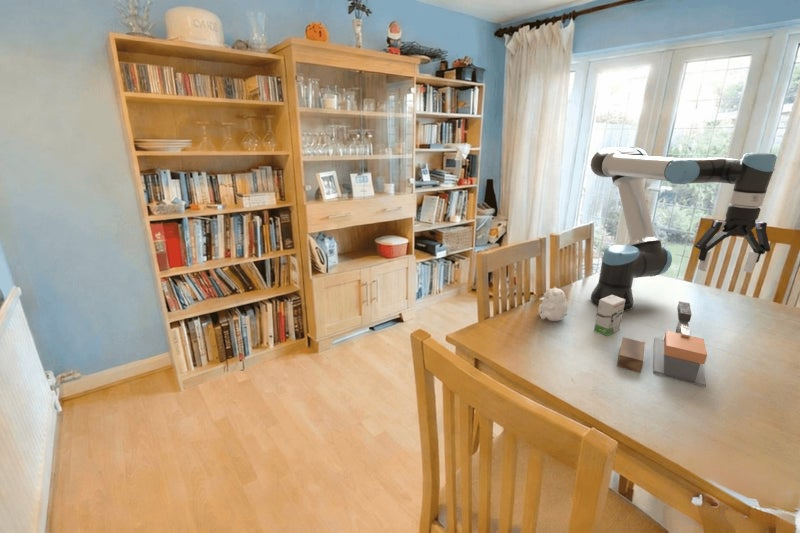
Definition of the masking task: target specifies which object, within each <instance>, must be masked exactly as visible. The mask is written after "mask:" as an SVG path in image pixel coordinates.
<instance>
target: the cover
mask: <svg viewBox="0 0 800 533" xmlns="http://www.w3.org/2000/svg"><path fill="white" fill-rule="evenodd" d="M675 332H676V331H674V332H673V331H670V330H665V333H664V337H663V340H664V355H667V356H671V357H675V358H680V359H684V360H688V361H692V362H696V363H700V364H703V365H705V363H706V360H707V357H708V353H707V352H708V351H707V347H706V342H705V338H702V337H696V336H692V335H690V337H689V338H688V337H683V336H681V334H680V333H675Z"/></svg>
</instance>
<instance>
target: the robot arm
mask: <svg viewBox="0 0 800 533" xmlns="http://www.w3.org/2000/svg"><path fill="white" fill-rule="evenodd" d="M777 159H778V156H777V155H776V154H775V153H768V152H766V153H763V152H761V153H760V152H747V153H745V154H743V156H742V158H725V157H718V156H716V157H714V156H713V157H705V158H682V157H681V158H680V157H679V158H677V157H664V156H649V155H648V153H647V152H646V151H645V150H644V149H642V148H639V147H632V146H629V147H607V148H606V147H605V148H602V149H601V150H598V151H597V152H596V153H595V154H594V155H593V156H592V158H591V161H590V169H591V170H592V173H594V175H596V176H598V177H602V178H611V180H612V183H613V185H614V186H616V187H618V192H619V197H620V201H621V207H622V209H623V210H622V211H623V215H624V219H625V224H626V229H627V232H628V233H627V234H628V238H629V243H628V244H615V245H610V246H608V247H607V248H605V249H604V251H603V255H602V258H601V259H602V260H601V265H600V270H599V271H600V273H599V277H598V283H597V284H596V286H595V287H594V289H593V291H592V293H591V295H590V302H592V304H594V305H596V306H597V307H598V305H599V300H600V299H602V298H605V297H607V296H610V295H615V296H617V297H620V298H623V299H625V305H624V310H623V312H624V311H629V310H631V309H633V307H634V302H635V301H634V296H633V295H634V294H633V290H632V289H633V288H632V286H633V282H634V279H636V278H645V277H655V276H660V275H663V274H665V273H667V272H668V270H669V269H670V268H671V265H672V261H673V257H672V253H671V251H670V250H669V249H668V248H667V247H665V246H663V245H662V241H661V239H660V238H658V237H656V236H655V231H654V227H653V222H652V219H651V214H650V210H649V205H648V202H647V198H646V192H645V188H644V184H643V179H647V180H648V179H649V180H655V181H656V180H657V181H663V182H664V181H665V182H669V183H671V184H676V185H687V184H688V185H689V184H707V183H708V184H710V183H711V184H712V183H720V184H721V183H722V184H729V185H730V184H731V185H734V186H733V190H732V193H731V196H730V199H729V205H728V207H727V209H726V214H725V220H724V221H720V220H717V219H714V220H713V221H712V223H711V225H710V227H709V228H708V229H707V230H706V231H705V233H704V234H703V235H702V236H701V237H700V238H699V240H698V241H697V242H696V243H695V245H694V248H696V249H699V255H698V261H699V264H698V267H697V269H699V270H701V271H702V272H707V268H708V265H709V264H708V263H709V261H710V257H711V253H712V252H711V251H710V250H711V249H714V247H716V246H717V245H719V244H720V243H721V242H723V241H724V240H725V239H726V238H729V237H730V236H732V237H738V236H740V237H744V238H745V240H746V242H747V243H748V245H749V246H750V249H752V250H753V251H752V250H750V251H749V252H748V255H747V258H746V261H745V264H744V267H743V271H744V272H747V273H748V274H753V272H754V269H755V267H756V263H757V264H758V263H759V261H760V258H761V256H762V255H764V254H765V253H769V252H770V251H771V247H770V242H769V241H770V240H769V237H768V233H767V226H768V223H767V222H764V221H761V220H758V219H759V216H760V214H761V213H760V212H761V210H762V209H761V207H762V206H763V203H764V201H765V198H766V194H767V190H768V188H769V185H770V182H771V179H772V176H773V174H774V172H775V166H776V164H777ZM757 220H758V221H757ZM754 228H755V234H756V237H755V234H754V232H753V229H754ZM756 238H757V239H756Z"/></svg>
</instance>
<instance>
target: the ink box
mask: <svg viewBox="0 0 800 533" xmlns="http://www.w3.org/2000/svg"><path fill="white" fill-rule="evenodd" d="M624 305H625V299H623V298H620V297H617V296H615V295H610V296H607V297H605V298H602V299H600V300H599V305H598V306H597V312H596V316H595V317H596V318H595V324H594V329H593V331H594V332H596V333H599V334H602V335H604V336H610V335H611V334H614V333H616V332H617V331H619V330H620V329H621V325H622V321H623V320H622V319H623V314H624V311H625V310H624ZM623 310H624V311H623Z"/></svg>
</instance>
